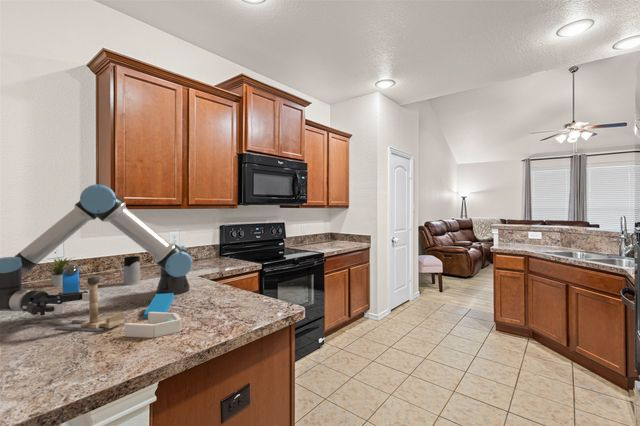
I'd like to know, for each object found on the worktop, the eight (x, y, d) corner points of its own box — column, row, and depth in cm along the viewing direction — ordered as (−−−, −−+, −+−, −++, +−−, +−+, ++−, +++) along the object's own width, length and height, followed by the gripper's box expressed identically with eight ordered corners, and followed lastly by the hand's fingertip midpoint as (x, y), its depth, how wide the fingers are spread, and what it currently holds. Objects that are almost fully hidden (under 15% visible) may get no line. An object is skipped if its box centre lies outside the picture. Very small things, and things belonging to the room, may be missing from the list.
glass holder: (131, 285, 168) (130, 258, 168) (112, 283, 173) (112, 257, 173) (144, 282, 177) (144, 256, 177) (126, 280, 181) (126, 255, 181)
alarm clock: (64, 294, 151) (63, 264, 151) (79, 292, 155) (79, 263, 155) (62, 300, 141) (62, 268, 140) (79, 298, 144) (79, 266, 144)
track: (55, 329, 106) (55, 327, 106) (73, 322, 113) (73, 319, 113) (101, 331, 104) (101, 329, 104) (117, 324, 111) (117, 321, 111)
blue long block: (164, 328, 119) (177, 302, 136) (163, 312, 117) (175, 288, 134) (145, 329, 118) (160, 303, 135) (143, 314, 116) (158, 289, 133)
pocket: (124, 336, 100) (124, 324, 100) (150, 322, 112) (150, 311, 112) (169, 338, 98) (169, 326, 98) (190, 324, 110) (190, 313, 110)
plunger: (78, 329, 106) (77, 279, 105) (94, 322, 112) (93, 275, 112) (109, 331, 104) (108, 280, 104) (123, 324, 110) (123, 276, 110)
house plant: (84, 282, 178) (84, 254, 178) (62, 288, 164) (61, 257, 164) (62, 281, 179) (61, 254, 179) (38, 287, 165) (37, 257, 165)
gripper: (63, 301, 124) (110, 302, 121) (-11, 323, 99) (47, 326, 97) (63, 282, 124) (110, 283, 121) (-11, 300, 99) (46, 302, 96)
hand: (82, 302), depth 109 cm, fingers open, 13 cm apart
